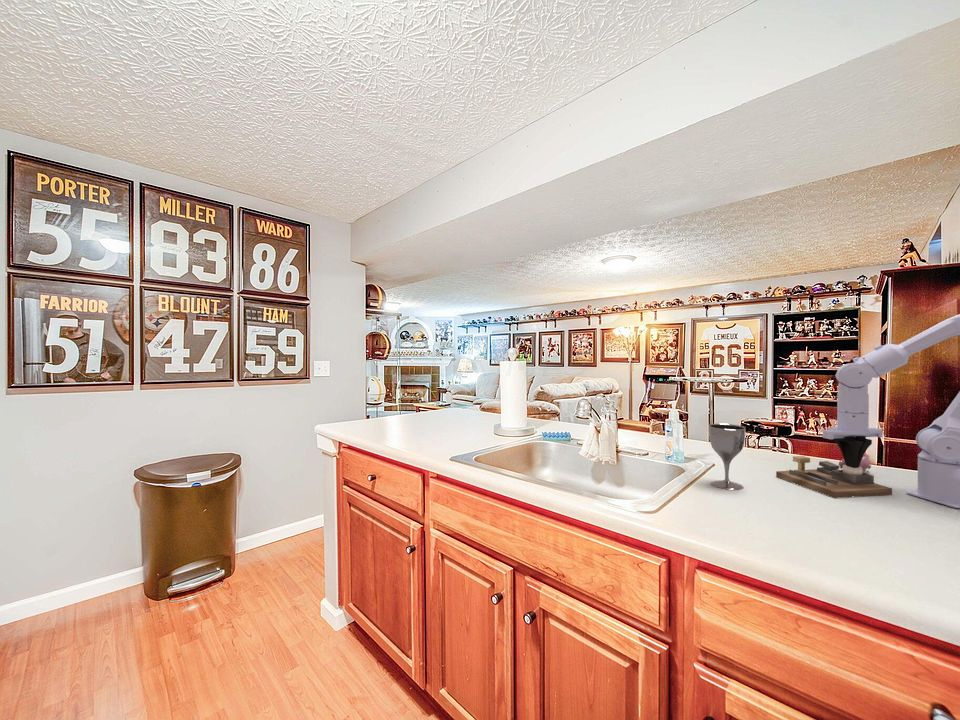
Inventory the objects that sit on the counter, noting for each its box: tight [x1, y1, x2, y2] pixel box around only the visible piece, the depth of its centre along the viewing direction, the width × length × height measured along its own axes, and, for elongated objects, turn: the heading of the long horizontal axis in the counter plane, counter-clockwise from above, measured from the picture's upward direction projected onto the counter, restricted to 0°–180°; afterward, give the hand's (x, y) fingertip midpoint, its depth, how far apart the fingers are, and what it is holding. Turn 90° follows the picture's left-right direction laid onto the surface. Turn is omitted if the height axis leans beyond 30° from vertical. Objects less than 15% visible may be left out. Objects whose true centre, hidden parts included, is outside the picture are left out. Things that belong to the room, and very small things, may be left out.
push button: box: [842, 465, 862, 476], centre depth 100 cm, size 4×4×2 cm
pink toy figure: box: [838, 452, 872, 473], centre depth 112 cm, size 10×5×7 cm, turn 143°
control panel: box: [775, 466, 893, 499], centre depth 102 cm, size 16×15×4 cm
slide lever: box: [792, 455, 811, 475], centre depth 105 cm, size 2×3×4 cm
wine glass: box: [708, 423, 746, 491], centre depth 103 cm, size 8×8×15 cm
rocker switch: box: [818, 460, 840, 470], centre depth 107 cm, size 3×2×1 cm
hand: (852, 466), depth 100 cm, fingers closed
